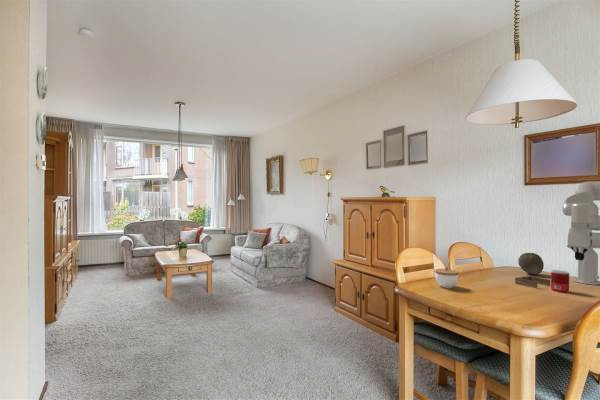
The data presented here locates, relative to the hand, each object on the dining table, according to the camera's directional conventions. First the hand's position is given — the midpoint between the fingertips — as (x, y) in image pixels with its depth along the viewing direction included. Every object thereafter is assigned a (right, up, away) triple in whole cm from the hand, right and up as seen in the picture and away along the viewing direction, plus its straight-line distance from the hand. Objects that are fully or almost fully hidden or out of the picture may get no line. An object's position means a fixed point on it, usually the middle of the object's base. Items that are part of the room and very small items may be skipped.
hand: (579, 259), depth 178 cm
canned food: (-4, -19, +8) cm, 21 cm away
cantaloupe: (+8, -19, +50) cm, 54 cm away
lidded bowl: (-66, -18, +14) cm, 70 cm away
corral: (-10, -19, +21) cm, 30 cm away
